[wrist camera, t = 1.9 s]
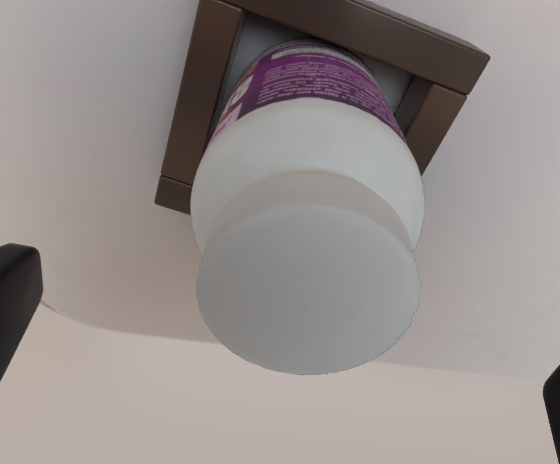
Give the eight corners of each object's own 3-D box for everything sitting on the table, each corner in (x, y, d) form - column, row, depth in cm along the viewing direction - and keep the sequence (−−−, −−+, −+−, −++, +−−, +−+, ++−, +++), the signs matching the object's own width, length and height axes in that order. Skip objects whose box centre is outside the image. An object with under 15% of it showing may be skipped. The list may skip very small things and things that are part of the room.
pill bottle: (222, 37, 15) (123, 161, 7) (388, 33, 14) (499, 158, 6) (235, 186, 18) (178, 398, 9) (373, 185, 17) (435, 403, 9)
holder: (361, 241, 19) (367, 271, 17) (167, 178, 18) (153, 204, 16) (470, 42, 14) (492, 56, 13) (223, -59, 13) (212, -58, 12)
